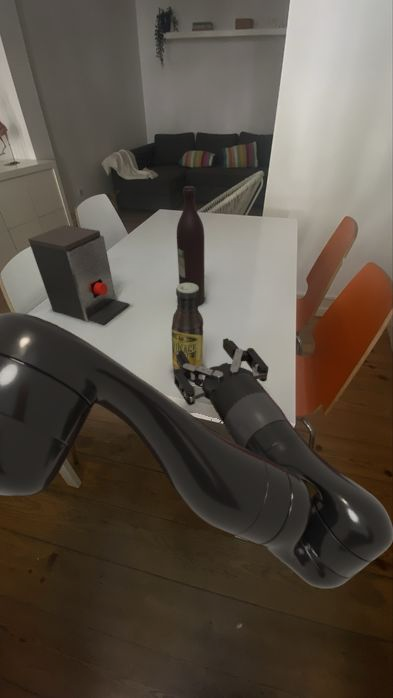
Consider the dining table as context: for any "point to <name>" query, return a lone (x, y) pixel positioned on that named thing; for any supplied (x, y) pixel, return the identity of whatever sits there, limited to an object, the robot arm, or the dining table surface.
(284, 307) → the dining table surface
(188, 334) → the sauce bottle
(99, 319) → the coffee maker
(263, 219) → the dining table surface
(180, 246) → the wine bottle
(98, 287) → the power button
